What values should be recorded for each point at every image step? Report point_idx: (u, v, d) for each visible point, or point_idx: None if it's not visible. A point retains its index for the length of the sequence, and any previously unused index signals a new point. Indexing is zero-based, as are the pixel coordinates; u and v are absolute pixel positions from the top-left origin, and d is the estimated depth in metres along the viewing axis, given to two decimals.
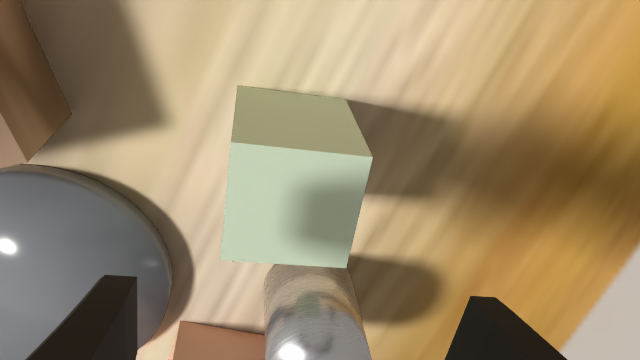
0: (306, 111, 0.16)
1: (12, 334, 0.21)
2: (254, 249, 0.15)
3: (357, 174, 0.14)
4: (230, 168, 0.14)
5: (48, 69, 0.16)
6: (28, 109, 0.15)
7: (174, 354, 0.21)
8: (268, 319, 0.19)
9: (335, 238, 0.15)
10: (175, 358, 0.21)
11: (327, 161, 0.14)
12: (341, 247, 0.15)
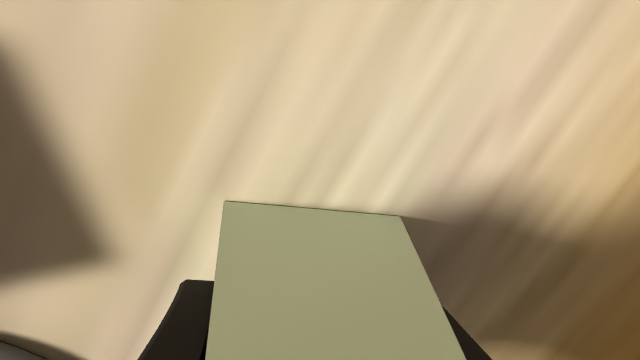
0: (342, 263, 0.09)
1: None
2: None
3: None
4: None
5: None
6: None
7: None
8: None
9: None
10: None
11: None
12: None
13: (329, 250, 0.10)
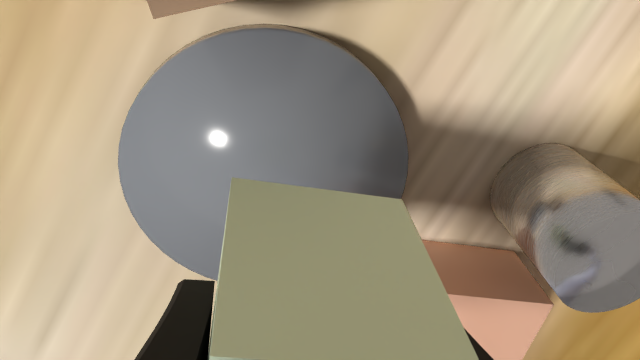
0: (346, 238, 0.10)
1: None
2: None
3: None
4: None
5: None
6: None
7: None
8: (533, 209, 0.17)
9: None
10: None
11: None
12: None
13: (333, 226, 0.10)
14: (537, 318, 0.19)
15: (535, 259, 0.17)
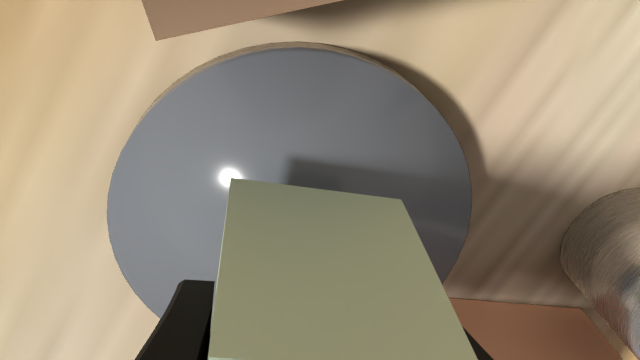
0: (345, 238, 0.10)
1: None
2: None
3: None
4: None
5: None
6: None
7: None
8: (629, 277, 0.13)
9: None
10: None
11: None
12: None
13: (332, 226, 0.10)
14: None
15: (633, 341, 0.13)
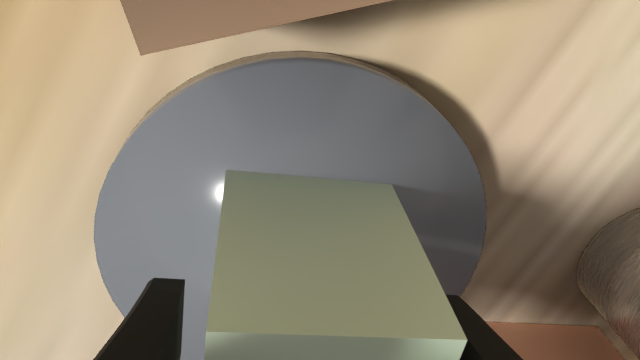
0: (336, 221, 0.10)
1: None
2: None
3: None
4: None
5: None
6: None
7: None
8: None
9: None
10: None
11: (384, 351, 0.08)
12: None
13: (324, 211, 0.10)
14: None
15: None
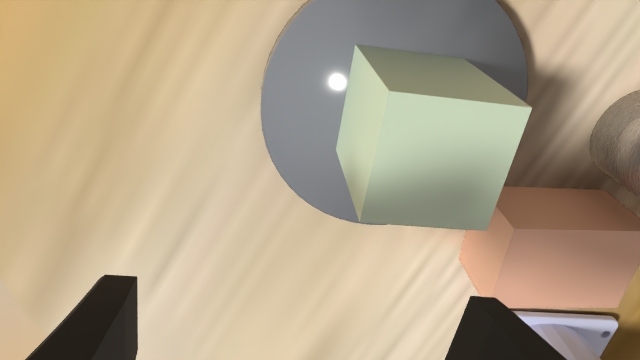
0: (437, 67, 0.16)
1: None
2: (396, 210, 0.14)
3: (513, 127, 0.13)
4: (384, 120, 0.13)
5: None
6: None
7: (499, 210, 0.20)
8: None
9: (480, 197, 0.14)
10: (503, 212, 0.20)
11: (485, 112, 0.13)
12: (484, 208, 0.15)
13: (427, 63, 0.16)
14: None
15: None
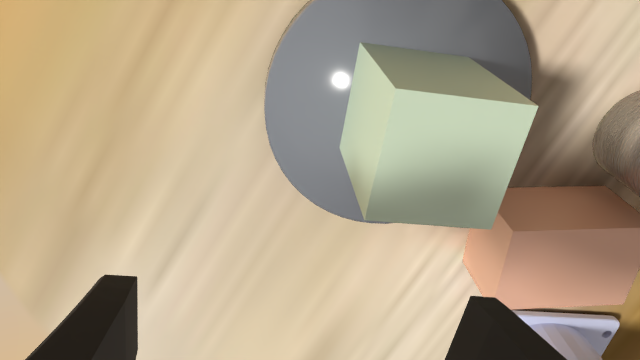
0: (442, 65, 0.16)
1: None
2: (401, 208, 0.14)
3: (519, 125, 0.13)
4: (390, 118, 0.13)
5: None
6: None
7: (498, 212, 0.20)
8: None
9: (485, 196, 0.14)
10: (502, 214, 0.20)
11: (491, 110, 0.13)
12: (489, 206, 0.15)
13: (432, 61, 0.16)
14: None
15: None
